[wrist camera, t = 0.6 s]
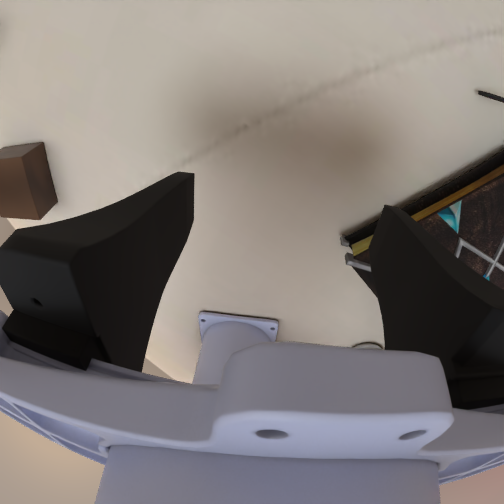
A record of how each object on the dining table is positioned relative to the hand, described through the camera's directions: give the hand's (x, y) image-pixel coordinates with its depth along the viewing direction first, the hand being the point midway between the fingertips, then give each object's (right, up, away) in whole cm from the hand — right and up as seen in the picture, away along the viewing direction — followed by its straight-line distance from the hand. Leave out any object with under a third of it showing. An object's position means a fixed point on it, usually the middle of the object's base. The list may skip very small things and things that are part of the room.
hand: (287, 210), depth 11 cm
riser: (-22, +6, +11) cm, 25 cm away
